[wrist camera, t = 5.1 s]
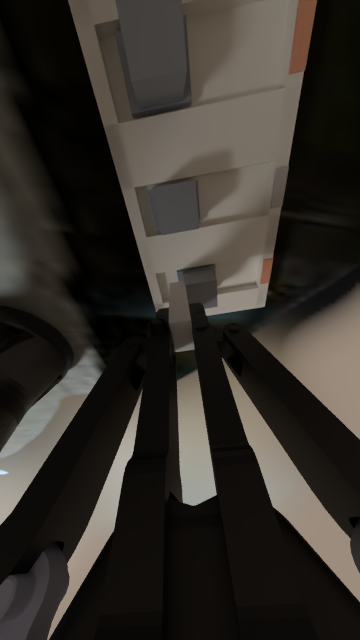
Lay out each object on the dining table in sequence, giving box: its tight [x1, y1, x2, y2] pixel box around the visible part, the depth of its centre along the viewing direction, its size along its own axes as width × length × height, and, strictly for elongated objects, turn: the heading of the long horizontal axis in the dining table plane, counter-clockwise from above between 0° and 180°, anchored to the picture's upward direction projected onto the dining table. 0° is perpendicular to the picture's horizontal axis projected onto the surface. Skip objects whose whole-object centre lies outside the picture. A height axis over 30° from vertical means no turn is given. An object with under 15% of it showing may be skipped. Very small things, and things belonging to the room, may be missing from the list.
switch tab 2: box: [148, 180, 201, 235], centre depth 13 cm, size 4×3×4 cm
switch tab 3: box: [177, 264, 218, 309], centre depth 17 cm, size 4×3×4 cm
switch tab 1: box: [114, 0, 192, 118], centre depth 9 cm, size 4×3×4 cm
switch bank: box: [68, 0, 317, 316], centre depth 15 cm, size 13×23×3 cm, turn 9°
